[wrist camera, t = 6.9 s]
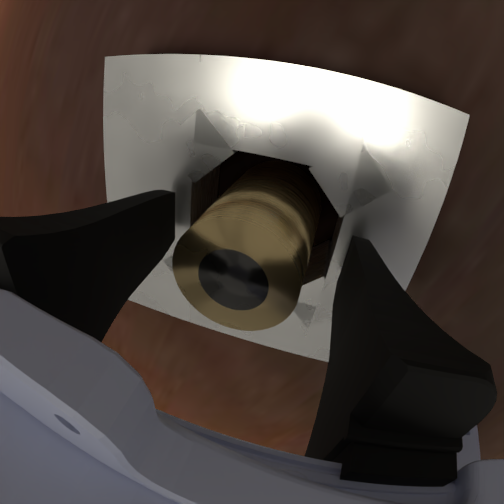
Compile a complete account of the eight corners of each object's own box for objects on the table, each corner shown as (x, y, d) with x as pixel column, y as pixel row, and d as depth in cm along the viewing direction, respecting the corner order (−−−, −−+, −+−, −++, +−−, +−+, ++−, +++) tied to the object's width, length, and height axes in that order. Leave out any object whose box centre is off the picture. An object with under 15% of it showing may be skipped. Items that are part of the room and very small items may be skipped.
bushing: (332, 175, 13) (317, 246, 8) (308, 253, 15) (281, 345, 10) (242, 150, 14) (174, 203, 9) (229, 228, 16) (171, 306, 11)
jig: (444, 106, 10) (469, 115, 8) (363, 327, 17) (361, 369, 14) (146, 55, 12) (105, 57, 10) (147, 266, 19) (120, 296, 16)
